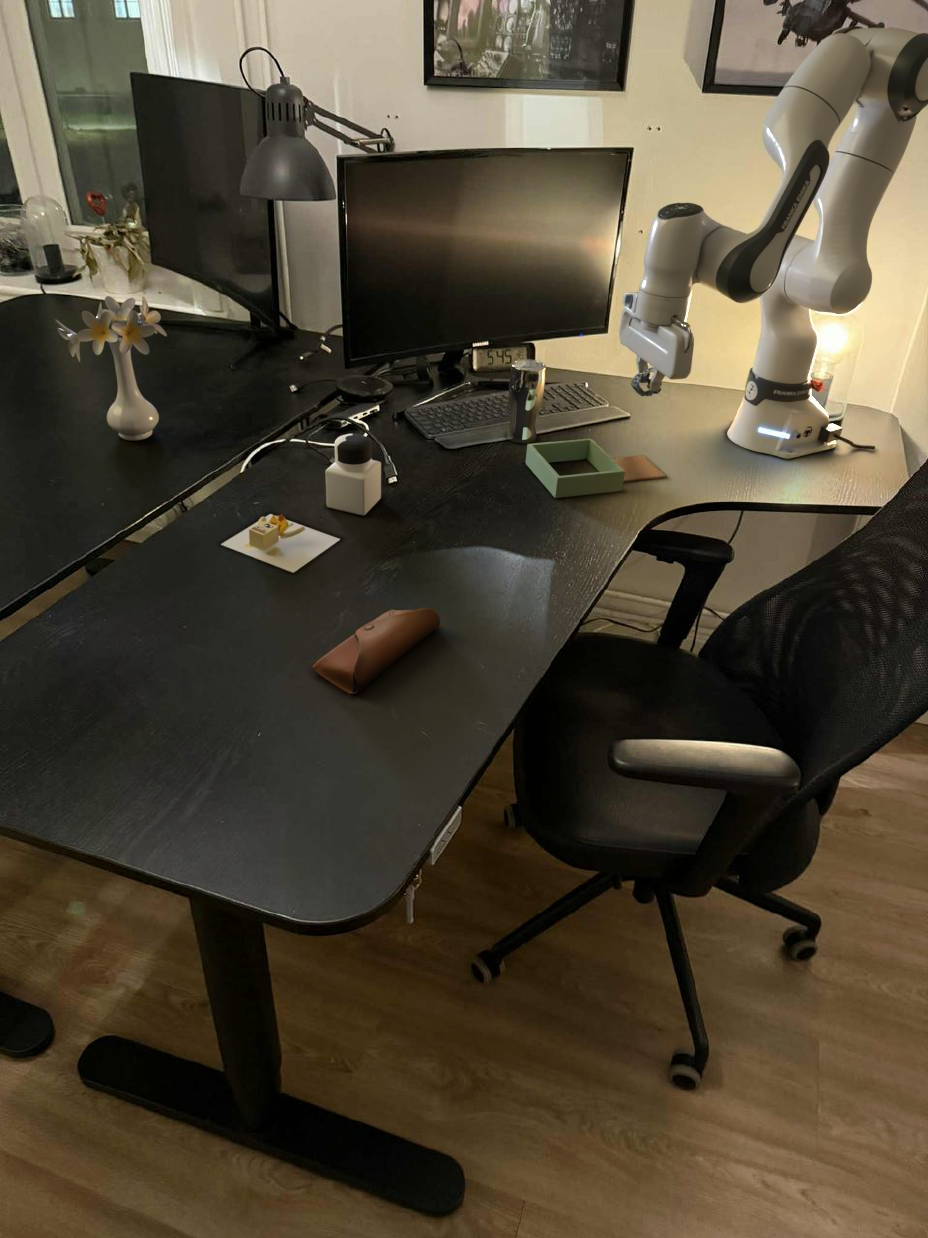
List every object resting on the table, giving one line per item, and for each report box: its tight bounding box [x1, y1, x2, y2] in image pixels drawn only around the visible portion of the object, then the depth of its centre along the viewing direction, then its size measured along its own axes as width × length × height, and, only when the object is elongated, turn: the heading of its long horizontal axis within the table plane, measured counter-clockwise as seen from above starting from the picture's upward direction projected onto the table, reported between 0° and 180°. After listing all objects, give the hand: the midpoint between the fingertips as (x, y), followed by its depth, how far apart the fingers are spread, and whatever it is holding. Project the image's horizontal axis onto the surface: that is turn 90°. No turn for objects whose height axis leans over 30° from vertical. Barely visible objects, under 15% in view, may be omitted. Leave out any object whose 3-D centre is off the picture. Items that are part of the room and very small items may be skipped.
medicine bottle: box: [325, 433, 382, 517], centre depth 145 cm, size 7×7×12 cm
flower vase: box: [55, 295, 168, 442], centre depth 158 cm, size 13×18×25 cm
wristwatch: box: [630, 366, 663, 397], centre depth 156 cm, size 3×5×5 cm
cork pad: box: [612, 455, 666, 483], centre depth 166 cm, size 9×9×1 cm
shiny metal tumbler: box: [506, 358, 547, 444], centre depth 171 cm, size 7×7×15 cm
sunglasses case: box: [312, 607, 441, 695], centre depth 115 cm, size 18×7×7 cm
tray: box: [525, 438, 625, 499], centre depth 161 cm, size 13×14×4 cm
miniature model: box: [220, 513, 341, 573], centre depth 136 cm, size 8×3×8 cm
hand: (647, 385), depth 156 cm, fingers closed on wristwatch, 2 cm apart
